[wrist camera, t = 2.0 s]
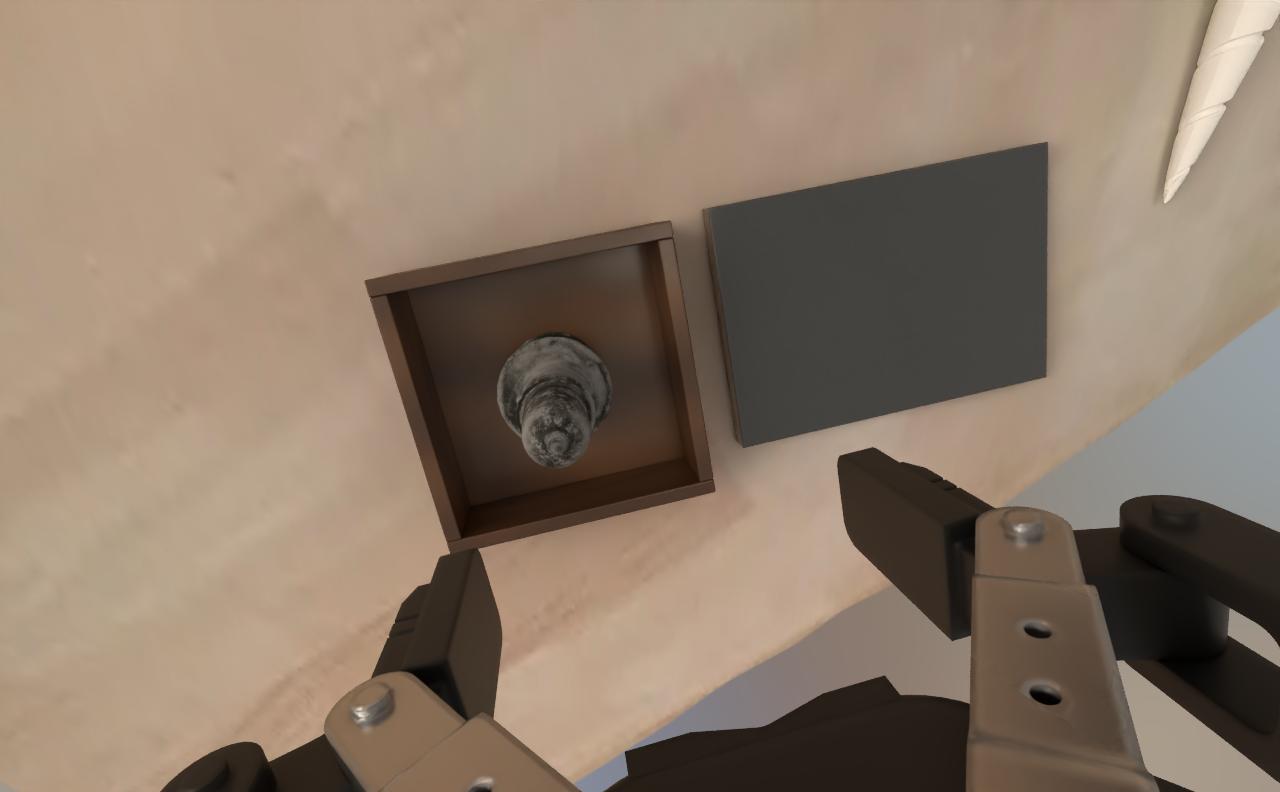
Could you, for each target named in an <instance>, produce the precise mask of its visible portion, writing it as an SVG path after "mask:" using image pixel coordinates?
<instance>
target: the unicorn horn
mask: <svg viewBox="0 0 1280 792" xmlns="http://www.w3.org/2000/svg"><path fill="white" fill-rule="evenodd" d="M1279 13H1280V0H1217V2H1216V4H1215V7H1214V9H1213V13H1212V16H1211V19H1210V22H1209V25H1208V29H1207V32H1206V35H1205V38H1204V42H1203V45H1202V48H1201V52H1200V55H1199V58H1198V62H1197V66H1198V68H1197V69H1196V71H1195V73H1194V75H1193V79H1192V82H1191V85H1190V89H1189V92H1188V96H1187V99H1186V103H1185V106H1184V110H1183V113H1182V117H1181V120H1180V124H1179V128H1178V130H1179V133H1178V134H1177V136H1176V139H1175V142H1174V146H1173V150H1172V154H1171V158H1170V162H1169V166H1168V171H1167V176H1166V181H1165V186H1164V191H1165V193H1164V196H1163V201H1164V204H1165V203H1167V202H1168V201H1169V200H1170V199H1171V198H1172V197H1173V195H1174V194H1175V192H1176V191H1177V190H1178V188H1179V187H1180V185H1181V184H1182V182H1183V180H1184V179H1185V177H1186V176H1187V174H1188V173H1189V171H1190V166H1191V165H1192V164H1193V163H1194V162H1195V161H1196V160H1197V158H1198V156H1199V155H1200V153H1201V151H1202V150H1203V148H1204V146H1205V145H1206V143H1207V141H1208V139H1209V138H1210V136H1211V134H1212V133H1213V131H1214V129H1215V127H1216V126H1217V124H1218V122H1219V120H1220V119H1221V117H1222V115H1223V113H1224V112H1225V110H1226V106H1225V105H1223V103H1224V102H1226V101H1228V100H1230V99H1232V98H1233V96H1234V94H1235V92H1236V90H1237V89H1238V87H1239V85H1240V83H1241V82H1242V80H1243V78H1244V76H1245V74H1246V73H1247V71H1248V69H1249V67H1250V66H1251V64H1252V62H1253V60H1254V58H1255V57H1256V55H1257V53H1258V51H1259V49H1260V48H1261V46H1262V44H1263V42H1264V37H1263V36H1261V35H1262V33H1263V31H1266V30H1269V29H1271V28H1272V26H1273V24H1274V22H1275V20H1276V19H1277V17H1278V15H1279Z"/></svg>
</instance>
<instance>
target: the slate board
mask: <svg viewBox="0 0 1280 792" xmlns="http://www.w3.org/2000/svg"><path fill="white" fill-rule="evenodd" d="M1047 195H1048V142H1044V143H1038V144H1033V145H1028V146H1023V147H1018V148H1013V149H1008V150H1003V151H997V152H992V153H987V154H982V155H977V156H972V157H967V158H962V159H957V160H952V161H946V162H941V163H936V164H931V165H926V166H921V167H916V168H911V169H906V170H901V171H895V172H890V173H885V174H880V175H875V176H870V177H865V178H860V179H855V180H850V181H845V182H839V183H834V184H829V185H824V186H819V187H814V188H809V189H804V190H799V191H794V192H788V193H783V194H778V195H773V196H768V197H763V198H758V199H753V200H748V201H743V202H737V203H732V204H727V205H722V206H717V207H712V208H707V209H703V216H704V223H705V230H706V236H707V243H708V250H709V256H710V263H711V269H712V276H713V283H714V289H715V296H716V303H717V309H718V316H719V322H720V329H721V336H722V342H723V349H724V356H725V362H726V369H727V376H728V382H729V389H730V395H731V402H732V409H733V415H734V422H735V429H736V435H737V441H738V443H739V444H740V445H741V446H742V447H743V448H745V447H749V446H754V445H758V444H762V443H766V442H771V441H775V440H779V439H783V438H788V437H792V436H796V435H801V434H805V433H809V432H813V431H818V430H822V429H826V428H831V427H835V426H839V425H843V424H848V423H852V422H856V421H860V420H865V419H869V418H873V417H878V416H882V415H886V414H890V413H895V412H899V411H903V410H907V409H912V408H916V407H920V406H925V405H929V404H933V403H937V402H942V401H946V400H950V399H955V398H959V397H963V396H967V395H972V394H976V393H980V392H984V391H989V390H993V389H997V388H1002V387H1006V386H1010V385H1014V384H1019V383H1023V382H1027V381H1031V380H1036V379H1040V378H1044V377H1046V361H1047Z"/></svg>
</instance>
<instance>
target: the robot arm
mask: <svg viewBox="0 0 1280 792" xmlns="http://www.w3.org/2000/svg"><path fill="white" fill-rule="evenodd" d="M837 467H838V476H839V484H840V493H841V501H842V509H843V517H844V523H845V527H846V530H847V533H848V535H849V537H850V539H851V541H852V543H853V544H854V546H855V547H856V548H857V549H858V550H859V551H860V552H861V553H862V554H863V555H864V556H865V557H866V558H867V559H868V560H869V561H870V562H871V563H872V564H873V565H874V566H875V567H876V568H877V569H878V570H880V571H881V572H882V573H883V574H884V575H885V576H886V577H887V578H888V579H889V580H890V581H891V582H892V583H893V584H894V585H895V586H896V587H897V588H898V589H899V590H900V591H901V592H902V593H903V594H904V595H905V596H906V597H907V598H908V599H909V600H910V601H912V603H913V604H915V605H916V606H917V607H918V608H919V609H920V610H921V611H922V612H923V613H924V614H925V615H926V616H927V617H928V618H929V619H930V620H931V621H932V622H933V623H934V624H935V625H936V626H937V627H938V628H939V629H940V630H941V631H942V632H943V633H944V634H945V635H946V636H948V638H950V639H951V640H952V641H954V640H957V639H961V638H964V637H967V636H971V671H970V672H971V673H970V704H968V703H965V702H962V701H957V700H952V699H948V698H943V697H935V696H927V695H900V694H899V693H898V692H897V691H896V689H895V688H894V687H893V685H892V684H891V683H890V682H889V680H888V679H887V678H886V676H882V677H878V678H875V679H871V680H868V681H865V682H861V683H858V684H854V685H851V686H847V687H844V688H840V689H837V690H834V691H830V692H827V693H823V694H821V695H820V696H818V697H816V698H814V699H813V700H811V701H809V702H808V703H806V704H804V705H802V706H800V707H799V708H797V709H795V710H793V711H792V712H790V713H788V714H786V715H785V716H783V717H781V718H779V719H778V720H776V721H774V722H772V723H770V724H769V725H766V726H763V727H759V728H747V729H746V728H745V729H731V730H717V731H705V732H704V731H703V732H690V733H687V734H684V735H680V736H677V737H673V738H670V739H667V740H663V741H660V742H656V743H653V744H649V745H646V746H643V747H639V748H636V749H632V750H629V751H626V752H625V756H626V762H627V770H628V776H626V777H625V778H623V779H621V780H619V781H618V782H616V783H615V784H614V785H612V786H611V787H609V788H608V789H607V790H605V791H604V792H1194V791H1191V790H1189V789H1186V788H1183V787H1181V786H1179V785H1176V784H1174V783H1171V782H1169V781H1166V780H1163V779H1161V778H1158V777H1156V776H1153V775H1152V774H1150V773H1149V772H1148V771H1147V769H1146V767H1145V765H1144V761H1143V758H1142V754H1141V751H1140V747H1139V743H1138V739H1137V736H1136V732H1135V729H1134V725H1133V721H1132V717H1131V714H1130V710H1129V706H1128V702H1127V699H1126V695H1125V691H1124V688H1123V684H1122V680H1121V676H1120V673H1119V669H1118V665H1117V662H1116V661H1118V660H1124V661H1125V662H1126V663H1127V664H1128V665H1129V666H1130V667H1132V668H1133V669H1134V670H1136V671H1137V672H1138V673H1139V674H1141V675H1142V676H1143V677H1145V678H1146V679H1147V680H1148V681H1150V682H1151V683H1152V684H1153V685H1155V686H1156V687H1157V688H1159V689H1160V690H1161V691H1162V692H1164V693H1165V694H1166V695H1168V696H1169V697H1170V698H1171V699H1173V700H1174V701H1175V702H1176V703H1178V704H1179V705H1180V706H1182V707H1183V708H1184V709H1186V710H1187V711H1188V712H1189V713H1191V714H1192V715H1193V716H1194V717H1196V718H1197V719H1198V720H1200V721H1201V722H1202V723H1203V724H1205V725H1206V726H1207V727H1208V728H1210V729H1211V730H1212V731H1214V732H1215V733H1216V734H1217V735H1219V736H1220V737H1221V738H1223V739H1224V740H1225V741H1226V742H1228V743H1229V744H1230V745H1232V746H1233V747H1234V748H1235V749H1237V750H1238V751H1239V752H1240V753H1242V754H1243V755H1244V756H1246V757H1247V758H1248V759H1249V760H1251V761H1252V762H1253V763H1255V764H1256V765H1257V766H1258V767H1260V768H1261V769H1262V770H1264V771H1265V772H1266V773H1268V774H1269V775H1270V776H1271V777H1272V778H1274V779H1275V780H1276V781H1278V782H1279V783H1280V667H1278V666H1277V665H1275V664H1274V663H1272V662H1270V661H1269V660H1267V659H1266V658H1264V657H1262V656H1260V655H1259V654H1257V653H1256V652H1254V651H1252V650H1251V649H1249V648H1248V647H1246V646H1244V645H1243V644H1241V643H1239V642H1238V641H1236V640H1234V639H1233V638H1231V637H1230V636H1228V621H1229V608H1231V609H1233V610H1235V611H1236V612H1238V613H1240V614H1242V615H1243V616H1245V617H1247V618H1249V619H1250V620H1252V621H1254V622H1256V623H1257V624H1259V625H1260V626H1261V627H1263V628H1264V629H1265V630H1267V632H1268V633H1270V635H1271V636H1272V637H1273V638H1274V639H1275V641H1276V642H1277V644H1278V645H1279V647H1280V532H1277V531H1275V530H1272V529H1270V528H1268V527H1265V526H1263V525H1261V524H1258V523H1256V522H1253V521H1251V520H1248V519H1246V518H1244V517H1241V516H1239V515H1237V514H1234V513H1232V512H1230V511H1227V510H1225V509H1222V508H1220V507H1218V506H1215V505H1213V504H1210V503H1207V502H1204V501H1200V500H1196V499H1192V498H1186V497H1180V496H1171V495H1170V496H1169V495H1150V496H1141V497H1136V498H1132V499H1130V500H1128V501H1125V502H1124V503H1123V504H1122V505H1121V507H1120V527H1116V528H1102V529H1087V530H1072V527H1071V525H1070V524H1069V523H1068V522H1067V521H1066V520H1064V519H1063V518H1061V517H1059V516H1058V515H1055V514H1053V513H1051V512H1048V511H1044V510H1040V509H1035V508H1029V507H1002V508H994V507H992V506H990V505H989V504H987V503H985V502H983V501H982V500H980V499H978V498H977V497H975V496H973V495H971V494H970V493H968V492H966V491H965V490H963V489H961V488H957V486H956V485H954V484H953V483H951V482H949V481H947V480H943V478H942V477H940V476H939V475H937V474H935V473H934V472H932V471H930V470H928V469H927V468H924V467H920V466H916V465H912V464H908V463H905V462H901V463H899V462H898V461H896V460H894V459H893V458H891V457H889V456H888V455H886V454H884V453H883V452H881V451H879V450H878V449H876V448H873V447H872V448H868V449H864V450H860V451H856V452H852V453H848V454H844V455H841V456H840V457H839V458H838V463H837ZM501 648H502V627H501V621H500V616H499V612H498V608H497V605H496V602H495V599H494V595H493V592H492V589H491V586H490V582H489V579H488V576H487V573H486V570H485V566H484V563H483V560H482V557H481V554H480V552H479V550H478V549H477V548H472V549H468V550H464V551H460V552H456V553H452V554H449V555H445V556H441V557H440V558H439V560H438V563H437V566H436V569H435V571H434V574H433V577H432V580H431V583H429V584H425V585H422V586H418V587H417V588H416V589H415V590H414V591H413V592H412V593H411V594H410V596H409V597H408V598H407V599H406V600H405V601H404V602H403V603H402V605H401V607H400V609H399V612H398V614H397V617H396V619H395V624H393V626H392V629H391V631H390V634H389V638H387V641H386V643H385V646H384V648H383V651H382V653H381V655H380V658H379V660H378V663H377V665H376V668H375V670H374V672H373V675H372V677H371V679H369V680H367V681H365V682H363V683H362V684H360V685H358V686H357V687H355V688H354V689H352V690H351V691H350V692H348V693H347V694H346V695H345V696H343V697H342V698H341V699H340V700H339V701H338V702H337V703H336V705H335V706H334V707H333V708H332V709H331V711H330V713H329V714H328V716H327V718H326V721H325V725H324V732H325V734H323V735H322V736H320V737H318V738H316V739H315V740H313V741H311V742H309V743H307V744H305V745H303V746H301V747H299V748H297V749H295V750H293V751H291V752H289V753H287V754H285V755H282V756H280V757H278V758H276V759H274V760H272V761H270V762H268V760H267V758H266V756H265V754H264V752H263V750H262V748H261V746H260V745H258V744H257V743H253V742H240V743H235V744H231V745H228V746H225V747H223V748H220V749H218V750H216V751H213V752H211V753H209V754H208V755H206V756H204V757H202V758H201V759H199V760H197V761H196V762H194V763H193V764H191V765H190V766H188V767H187V768H186V769H184V770H183V771H182V772H180V773H179V774H178V775H177V776H176V777H174V778H173V779H172V780H171V781H170V782H169V783H168V784H167V785H166V786H165V787H164V788H163V789H162V790H161V792H581V791H580V790H579V789H578V788H577V787H575V786H574V785H573V784H572V783H571V782H569V781H568V780H567V779H566V778H564V777H563V776H562V775H561V774H560V773H558V772H557V771H556V770H555V769H553V768H552V767H551V766H550V765H549V764H547V763H546V762H545V761H544V760H543V759H541V758H540V757H539V756H538V755H536V754H535V753H534V752H533V751H532V750H530V749H529V748H528V747H527V746H525V745H524V744H523V743H522V742H521V741H519V740H518V739H517V738H516V737H514V736H513V735H512V734H511V733H510V732H508V731H507V730H506V729H505V728H503V727H502V726H501V725H500V724H499V723H497V722H496V721H495V720H494V719H493V717H494V708H495V699H496V691H497V682H498V674H499V665H500V657H501Z"/></svg>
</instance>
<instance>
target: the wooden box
mask: <svg viewBox="0 0 1280 792" xmlns="http://www.w3.org/2000/svg"><path fill="white" fill-rule="evenodd" d="M672 237H673V231H672V225H671V221H662V222H655V223H650V224H645V225H640V226H635V227H630V228H625V229H620V230H614V231H609V232H604V233H599V234H594V235H589V236H584V237H579V238H574V239H569V240H564V241H559V242H553V243H548V244H543V245H538V246H533V247H528V248H523V249H518V250H513V251H508V252H503V253H498V254H492V255H487V256H482V257H477V258H472V259H467V260H462V261H457V262H452V263H447V264H442V265H437V266H431V267H426V268H421V269H416V270H411V271H406V272H401V273H396V274H391V275H386V276H382V277H378V278H374V279H369V280H365V285H366V288H367V291H368V294H369V297H371V298H370V300H371V303H372V306H373V310H374V313H375V316H376V319H377V322H378V326H379V329H380V332H381V335H382V338H383V341H384V345H385V348H386V351H387V354H388V357H389V360H390V364H391V367H392V370H393V373H394V376H395V380H396V383H397V386H398V389H399V392H400V395H401V399H402V402H403V405H404V408H405V411H406V414H407V418H408V421H409V424H410V427H411V430H412V434H413V437H414V440H415V443H416V446H417V449H418V453H419V456H420V459H421V462H422V465H423V469H424V472H425V475H426V478H427V481H428V484H429V488H430V491H431V494H432V497H433V500H434V503H435V507H436V510H437V513H438V516H439V519H440V523H441V526H442V529H443V532H444V535H445V538H446V541H447V545H448V548H449V551H450V554H452V553H456V552H460V551H464V550H468V549H472V548H477V549H479V548H483V547H487V546H491V545H496V544H500V543H504V542H508V541H512V540H516V539H521V538H525V537H529V536H533V535H537V534H541V533H546V532H550V531H554V530H558V529H562V528H566V527H571V526H575V525H579V524H583V523H587V522H592V521H596V520H600V519H604V518H608V517H612V516H617V515H621V514H625V513H629V512H633V511H637V510H642V509H646V508H650V507H654V506H658V505H662V504H667V503H671V502H675V501H679V500H683V499H688V498H692V497H696V496H700V495H704V494H708V493H713V492H715V485H714V480H713V472H712V466H711V460H710V454H709V448H708V442H707V436H706V430H705V424H704V418H703V412H702V406H701V400H700V394H699V388H698V382H697V376H696V370H695V364H694V358H693V352H692V346H691V340H690V334H689V328H688V322H687V316H686V310H685V304H684V298H683V292H682V286H681V280H680V274H679V268H678V262H677V256H676V250H675V244H674V239H673V238H672ZM548 332H562V333H566V334H569V335H573V336H575V337H576V338H578V339H580V340H582V341H583V342H585V343H586V344H587V345H588V347H589V348H591V349H592V350H593V351H594V352H595V353H596V354H597V355H598V356H599V357H600V358H601V359H602V361H603V363H604V365H605V366H606V368H607V370H608V372H609V375H610V379H611V383H612V403H611V406H610V409H609V412H608V415H607V417H606V418H605V420H604V422H603V423H602V425H601V426H600V427H599V428H598V429H597V430H596V431H595V432H594V433H593V434H592V435H591V438H590V442H589V445H588V447H587V449H586V451H585V452H584V454H583V455H582V456H581V457H580V458H579V459H578V460H577V461H576V462H574V463H573V464H571V465H569V466H566V467H562V468H549V467H544V466H542V465H540V464H538V463H536V462H535V461H534V460H533V459H532V458H531V457H530V456H529V455H528V453H527V452H526V450H525V448H524V446H523V442H522V438H521V437H520V436H518V435H517V434H516V433H515V432H514V431H513V430H512V429H511V428H510V427H509V426H508V424H507V423H506V421H505V419H504V418H503V416H502V415H501V411H500V408H499V405H498V401H497V384H498V380H499V377H500V373H501V370H502V369H503V367H504V365H505V364H506V362H507V360H508V358H509V357H510V356H511V355H513V354H514V353H515V352H516V351H517V349H518V348H519V347H520V346H521V345H523V344H524V343H525V342H526V341H527V340H529V339H531V338H533V337H534V336H536V335H539V334H544V333H548Z"/></svg>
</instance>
